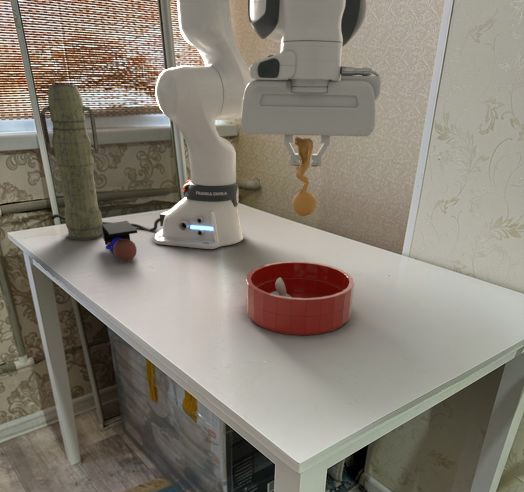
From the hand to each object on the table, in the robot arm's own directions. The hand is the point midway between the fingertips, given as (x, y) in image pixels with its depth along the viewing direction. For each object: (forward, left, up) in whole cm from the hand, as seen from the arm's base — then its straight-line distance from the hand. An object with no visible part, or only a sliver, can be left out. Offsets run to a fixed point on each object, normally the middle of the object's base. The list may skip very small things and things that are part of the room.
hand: (305, 166), depth 80 cm
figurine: (+2, 0, -8) cm, 8 cm away
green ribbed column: (-56, +42, -25) cm, 74 cm away
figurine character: (-42, +28, -25) cm, 56 cm away
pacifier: (-2, -2, -25) cm, 25 cm away
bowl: (0, -1, -25) cm, 25 cm away
